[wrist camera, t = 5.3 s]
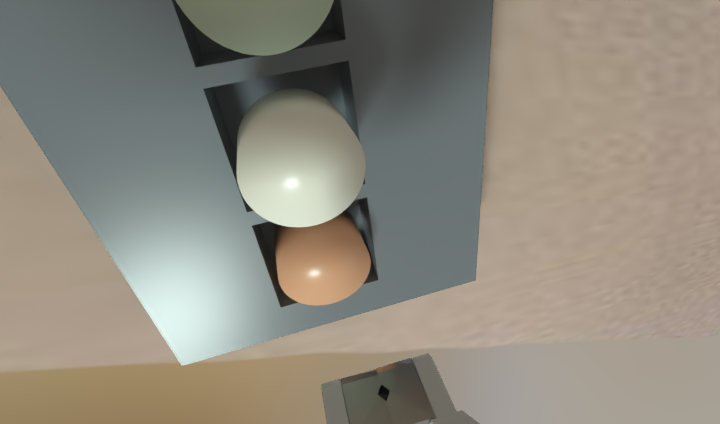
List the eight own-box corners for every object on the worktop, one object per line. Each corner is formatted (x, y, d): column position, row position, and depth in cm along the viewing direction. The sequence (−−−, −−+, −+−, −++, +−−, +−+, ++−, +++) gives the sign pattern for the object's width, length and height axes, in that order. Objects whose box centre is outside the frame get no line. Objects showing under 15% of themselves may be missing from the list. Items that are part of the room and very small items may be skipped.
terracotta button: (350, 193, 16) (365, 222, 14) (361, 258, 18) (375, 291, 16) (263, 214, 15) (266, 247, 14) (284, 279, 17) (290, 315, 16)
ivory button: (339, 78, 12) (357, 97, 10) (355, 179, 14) (371, 211, 12) (221, 101, 11) (217, 127, 10) (255, 203, 13) (257, 239, 12)
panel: (452, -236, 11) (512, -293, 9) (448, 244, 21) (475, 280, 19) (-94, -191, 9) (-216, -247, 7) (189, 314, 19) (181, 366, 17)
